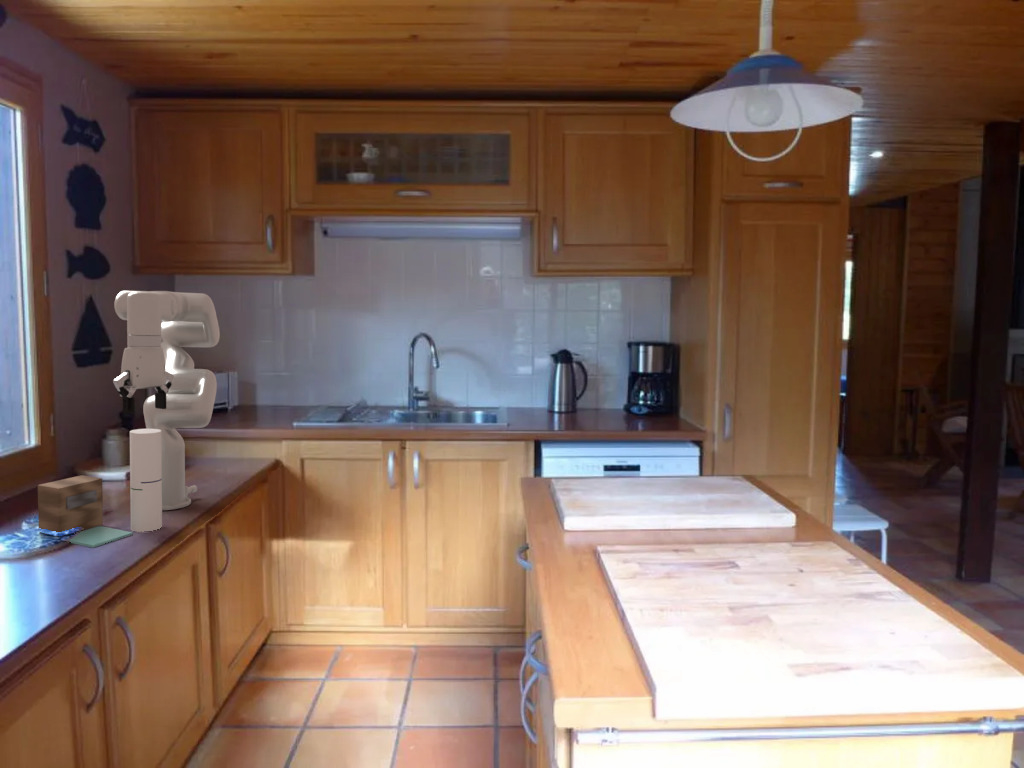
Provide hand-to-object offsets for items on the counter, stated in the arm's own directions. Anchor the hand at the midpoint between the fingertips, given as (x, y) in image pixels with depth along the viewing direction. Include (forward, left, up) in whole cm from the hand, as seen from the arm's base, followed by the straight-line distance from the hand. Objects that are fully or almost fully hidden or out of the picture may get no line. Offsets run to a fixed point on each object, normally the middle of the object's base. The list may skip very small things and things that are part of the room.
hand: (145, 410), depth 184 cm
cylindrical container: (0, 0, -30) cm, 30 cm away
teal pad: (+11, -4, -30) cm, 32 cm away
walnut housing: (+9, -15, -30) cm, 35 cm away
